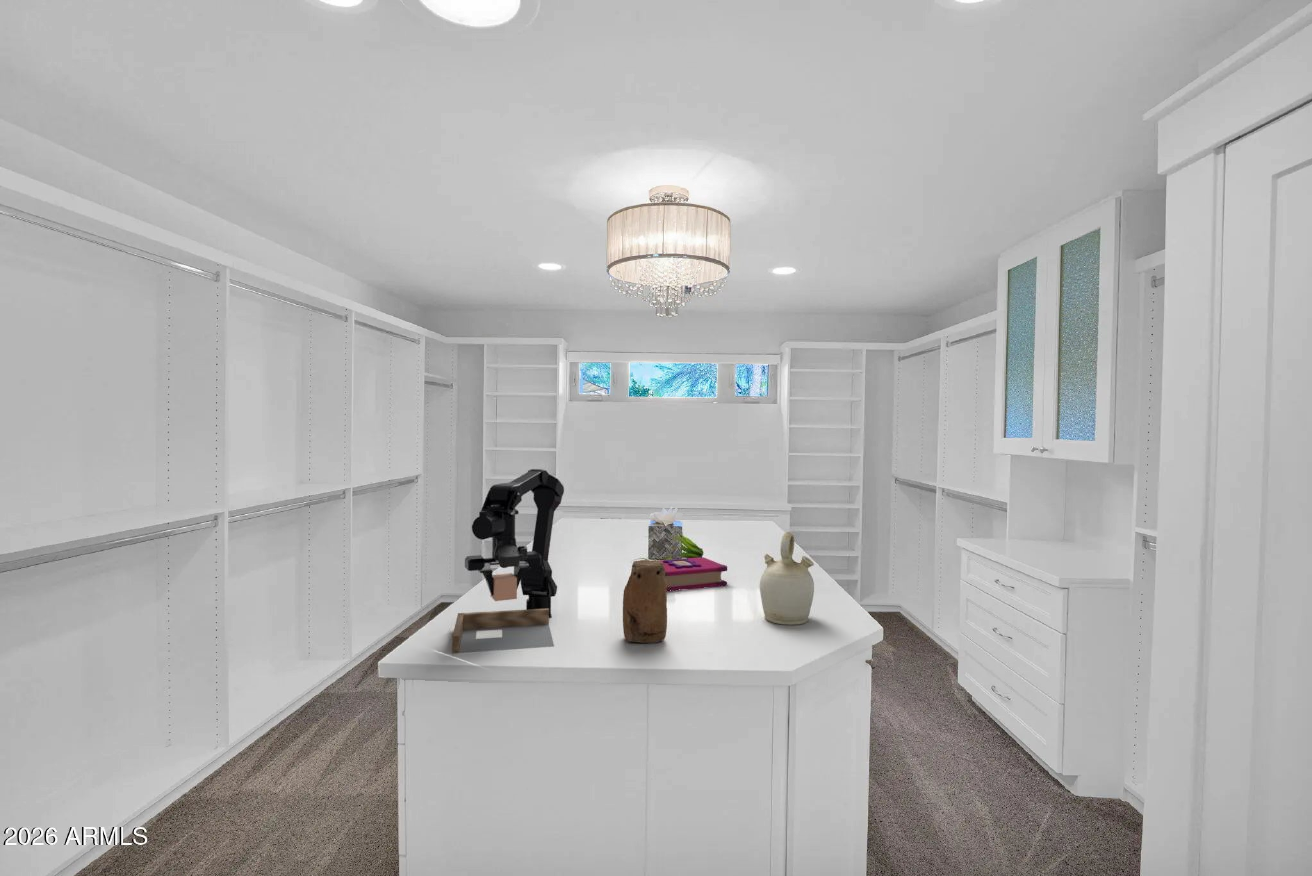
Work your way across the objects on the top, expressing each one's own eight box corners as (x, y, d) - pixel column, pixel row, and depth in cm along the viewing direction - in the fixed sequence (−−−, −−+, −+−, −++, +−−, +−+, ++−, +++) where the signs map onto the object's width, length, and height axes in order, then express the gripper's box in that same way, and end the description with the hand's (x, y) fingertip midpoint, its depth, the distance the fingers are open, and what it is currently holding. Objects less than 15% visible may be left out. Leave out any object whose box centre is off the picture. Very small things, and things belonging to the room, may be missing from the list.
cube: (511, 594, 169) (511, 573, 169) (516, 598, 164) (516, 577, 164) (490, 596, 167) (490, 575, 167) (495, 601, 162) (495, 579, 162)
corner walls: (548, 622, 177) (548, 608, 177) (554, 646, 158) (554, 630, 158) (457, 628, 172) (458, 613, 172) (452, 653, 152) (452, 636, 152)
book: (632, 580, 232) (632, 559, 232) (701, 574, 244) (701, 554, 243) (655, 594, 213) (655, 571, 213) (728, 586, 224) (729, 565, 224)
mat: (548, 623, 177) (548, 622, 177) (554, 647, 158) (554, 645, 158) (457, 629, 172) (457, 627, 172) (452, 654, 152) (452, 652, 152)
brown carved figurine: (661, 634, 169) (662, 558, 169) (668, 643, 162) (669, 564, 162) (620, 636, 167) (621, 560, 167) (626, 646, 159) (627, 565, 159)
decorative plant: (633, 558, 273) (633, 523, 273) (703, 559, 272) (703, 524, 272) (630, 566, 255) (630, 529, 255) (705, 567, 254) (705, 530, 254)
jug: (823, 618, 185) (824, 532, 185) (795, 630, 173) (796, 538, 173) (778, 608, 195) (778, 526, 195) (748, 619, 184) (749, 532, 184)
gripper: (472, 540, 154) (472, 605, 154) (548, 535, 162) (547, 597, 162) (464, 534, 164) (464, 595, 164) (535, 529, 172) (535, 587, 172)
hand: (503, 593), depth 165 cm, fingers closed on cube, 5 cm apart
